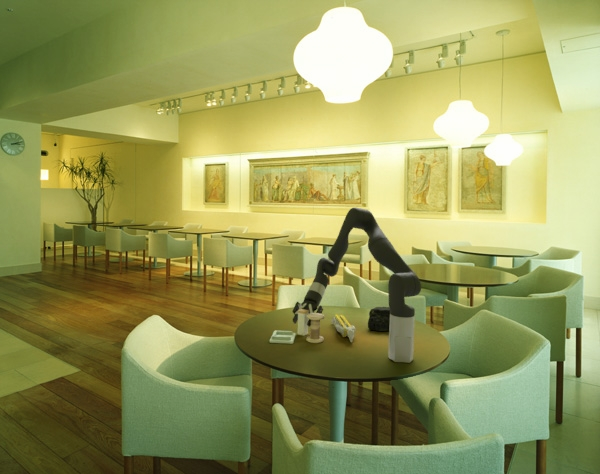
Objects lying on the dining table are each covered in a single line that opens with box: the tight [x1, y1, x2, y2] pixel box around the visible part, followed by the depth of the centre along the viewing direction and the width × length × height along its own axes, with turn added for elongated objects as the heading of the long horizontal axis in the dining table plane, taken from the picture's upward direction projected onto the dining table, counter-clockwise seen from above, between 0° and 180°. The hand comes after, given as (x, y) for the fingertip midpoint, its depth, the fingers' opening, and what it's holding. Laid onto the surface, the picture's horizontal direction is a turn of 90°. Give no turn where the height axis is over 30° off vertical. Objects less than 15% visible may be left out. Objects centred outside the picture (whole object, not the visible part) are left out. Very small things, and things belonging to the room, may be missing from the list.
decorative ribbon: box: [331, 314, 357, 343], centre depth 192 cm, size 8×6×30 cm
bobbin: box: [305, 312, 325, 344], centre depth 181 cm, size 8×8×11 cm
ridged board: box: [269, 330, 297, 345], centre depth 182 cm, size 12×10×2 cm
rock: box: [367, 306, 390, 332], centre depth 201 cm, size 18×10×15 cm
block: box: [297, 309, 309, 336], centre depth 189 cm, size 4×4×11 cm
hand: (301, 324), depth 188 cm, fingers open, 7 cm apart
